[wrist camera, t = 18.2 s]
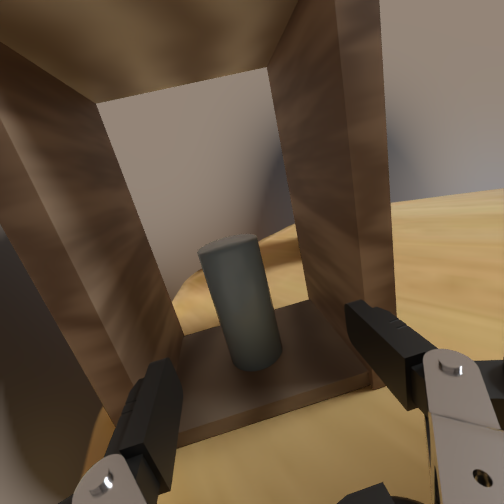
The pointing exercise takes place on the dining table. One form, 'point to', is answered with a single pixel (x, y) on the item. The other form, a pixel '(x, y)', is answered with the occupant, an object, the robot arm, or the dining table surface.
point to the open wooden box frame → (125, 214)
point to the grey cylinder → (242, 300)
